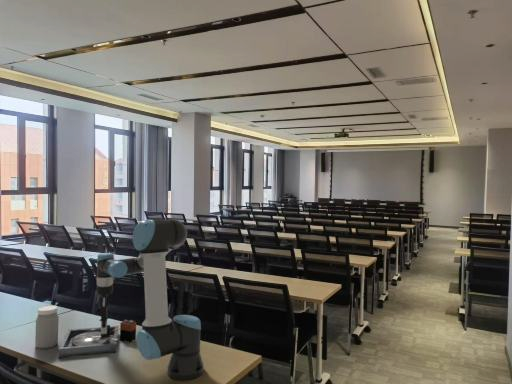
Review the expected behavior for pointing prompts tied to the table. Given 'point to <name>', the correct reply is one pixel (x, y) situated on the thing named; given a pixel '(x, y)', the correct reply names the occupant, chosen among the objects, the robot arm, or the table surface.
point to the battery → (128, 331)
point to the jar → (46, 327)
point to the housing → (70, 351)
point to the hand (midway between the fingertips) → (103, 333)
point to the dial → (91, 338)
